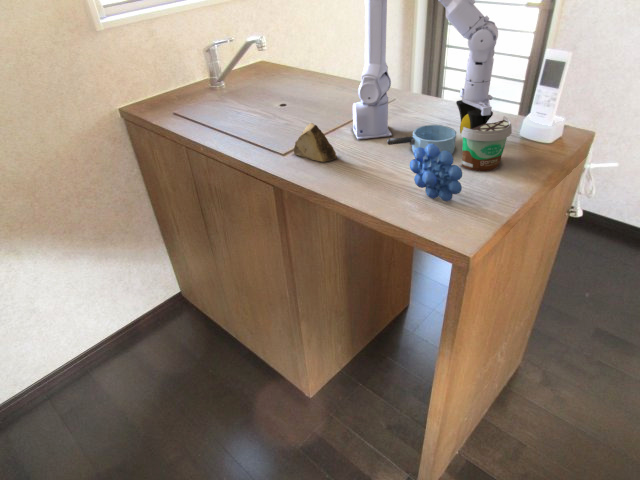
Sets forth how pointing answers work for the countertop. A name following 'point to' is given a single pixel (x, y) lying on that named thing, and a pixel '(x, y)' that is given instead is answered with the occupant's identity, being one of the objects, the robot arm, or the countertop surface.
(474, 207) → the countertop surface
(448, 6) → the robot arm
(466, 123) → the lemon
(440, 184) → the grapes
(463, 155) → the food container
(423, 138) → the pan
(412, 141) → the pan handle
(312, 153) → the rock
